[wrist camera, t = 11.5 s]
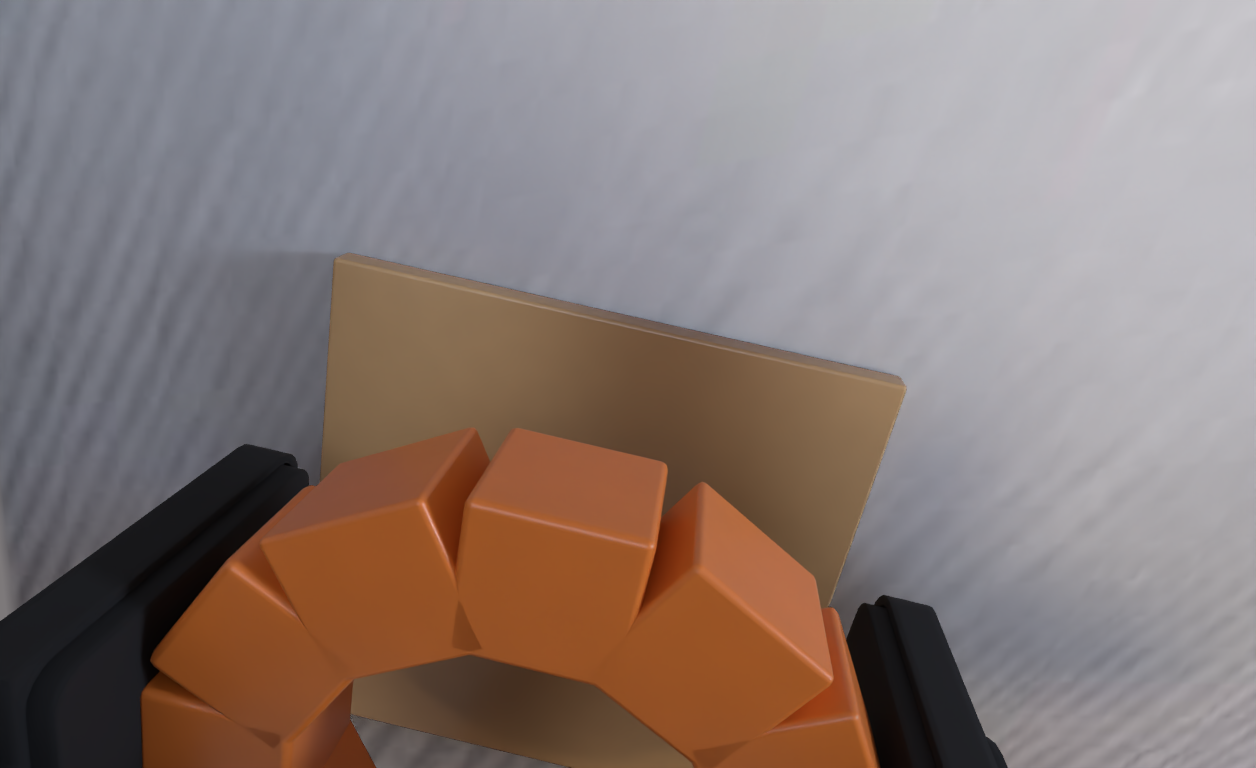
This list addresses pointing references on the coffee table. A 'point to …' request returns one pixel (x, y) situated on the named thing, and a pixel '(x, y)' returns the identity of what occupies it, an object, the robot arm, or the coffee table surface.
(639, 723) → the coaster
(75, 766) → the robot arm
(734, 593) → the ring
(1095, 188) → the coffee table surface
